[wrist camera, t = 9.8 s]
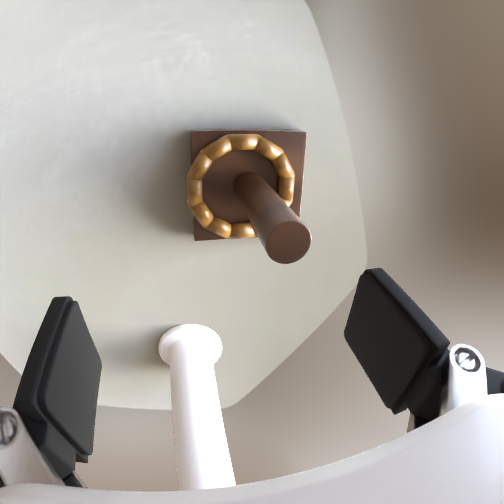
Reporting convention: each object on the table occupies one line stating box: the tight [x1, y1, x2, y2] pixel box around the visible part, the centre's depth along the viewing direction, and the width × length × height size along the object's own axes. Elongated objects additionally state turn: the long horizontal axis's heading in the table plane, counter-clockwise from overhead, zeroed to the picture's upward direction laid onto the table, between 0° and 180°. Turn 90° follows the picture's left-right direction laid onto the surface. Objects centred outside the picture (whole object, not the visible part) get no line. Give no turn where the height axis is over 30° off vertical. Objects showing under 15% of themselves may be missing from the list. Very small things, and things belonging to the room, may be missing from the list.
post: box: [191, 129, 311, 264], centre depth 20 cm, size 9×9×11 cm
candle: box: [158, 324, 236, 491], centre depth 21 cm, size 7×7×25 cm
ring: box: [186, 134, 295, 239], centre depth 23 cm, size 8×8×1 cm
